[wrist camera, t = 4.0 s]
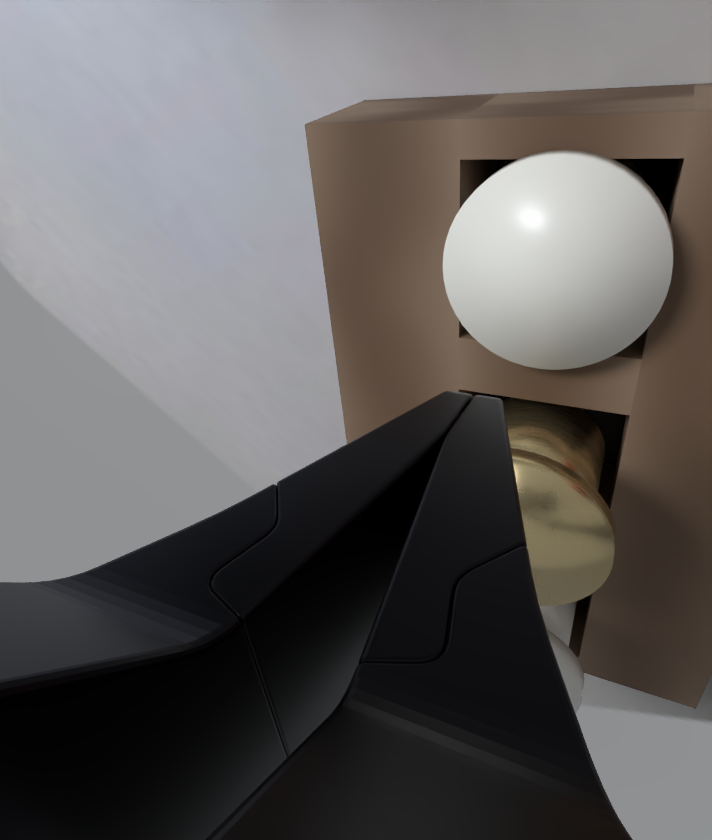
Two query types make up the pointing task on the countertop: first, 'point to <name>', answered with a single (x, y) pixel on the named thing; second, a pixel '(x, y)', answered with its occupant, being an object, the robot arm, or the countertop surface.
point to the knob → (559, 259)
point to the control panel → (491, 374)
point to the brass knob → (561, 498)
